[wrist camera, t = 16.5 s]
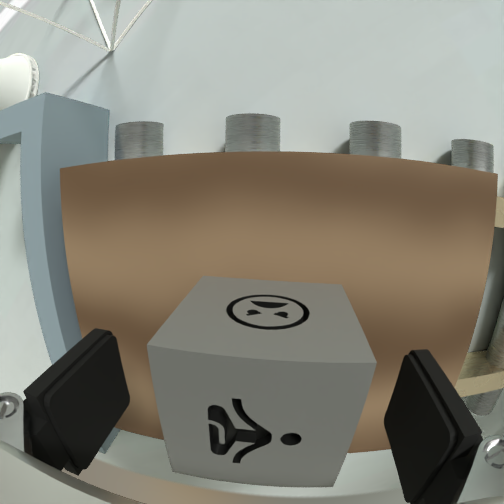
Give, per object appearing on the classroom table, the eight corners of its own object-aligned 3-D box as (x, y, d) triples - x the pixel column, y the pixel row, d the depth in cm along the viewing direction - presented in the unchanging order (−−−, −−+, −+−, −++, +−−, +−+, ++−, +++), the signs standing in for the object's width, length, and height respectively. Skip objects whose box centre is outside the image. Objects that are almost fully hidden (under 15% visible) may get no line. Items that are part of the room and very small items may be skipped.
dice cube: (203, 275, 11) (146, 344, 6) (341, 284, 11) (376, 362, 6) (206, 384, 12) (172, 471, 8) (323, 393, 12) (332, 486, 7)
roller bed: (108, 134, 16) (79, 130, 13) (546, 170, 13) (573, 172, 10) (133, 387, 21) (117, 411, 18) (496, 388, 17) (512, 408, 15)
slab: (97, 167, 14) (59, 168, 11) (462, 172, 12) (497, 174, 9) (130, 397, 17) (110, 426, 14) (414, 410, 15) (428, 442, 12)
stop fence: (53, 122, 16) (-11, 115, 11) (109, 110, 16) (45, 92, 10) (87, 389, 21) (51, 431, 16) (137, 402, 21) (104, 453, 15)
